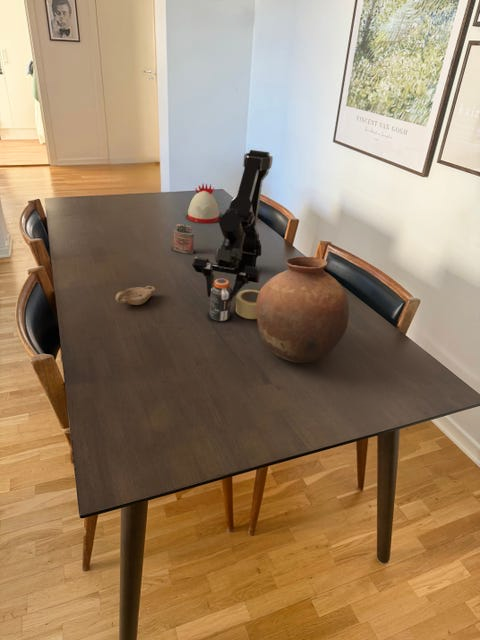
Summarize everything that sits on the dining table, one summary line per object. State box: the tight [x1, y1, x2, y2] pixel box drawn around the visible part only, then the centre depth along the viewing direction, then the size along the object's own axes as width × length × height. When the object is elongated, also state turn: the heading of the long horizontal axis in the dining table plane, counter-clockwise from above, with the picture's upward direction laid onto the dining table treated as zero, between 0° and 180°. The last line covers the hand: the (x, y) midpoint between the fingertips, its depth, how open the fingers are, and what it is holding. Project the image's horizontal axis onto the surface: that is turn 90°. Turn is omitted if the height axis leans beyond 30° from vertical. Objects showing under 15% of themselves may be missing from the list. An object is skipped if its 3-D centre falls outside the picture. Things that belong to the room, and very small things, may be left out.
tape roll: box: [235, 289, 260, 320], centre depth 131 cm, size 9×9×5 cm
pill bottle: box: [209, 277, 233, 322], centre depth 126 cm, size 6×6×11 cm
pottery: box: [256, 256, 350, 364], centre depth 111 cm, size 23×23×25 cm
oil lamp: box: [115, 285, 156, 306], centre depth 130 cm, size 13×8×5 cm, turn 134°
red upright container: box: [173, 223, 195, 255], centre depth 163 cm, size 8×3×10 cm, turn 68°
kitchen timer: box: [187, 183, 220, 224], centre depth 195 cm, size 14×14×15 cm
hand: (219, 298), depth 124 cm, fingers open, 6 cm apart
